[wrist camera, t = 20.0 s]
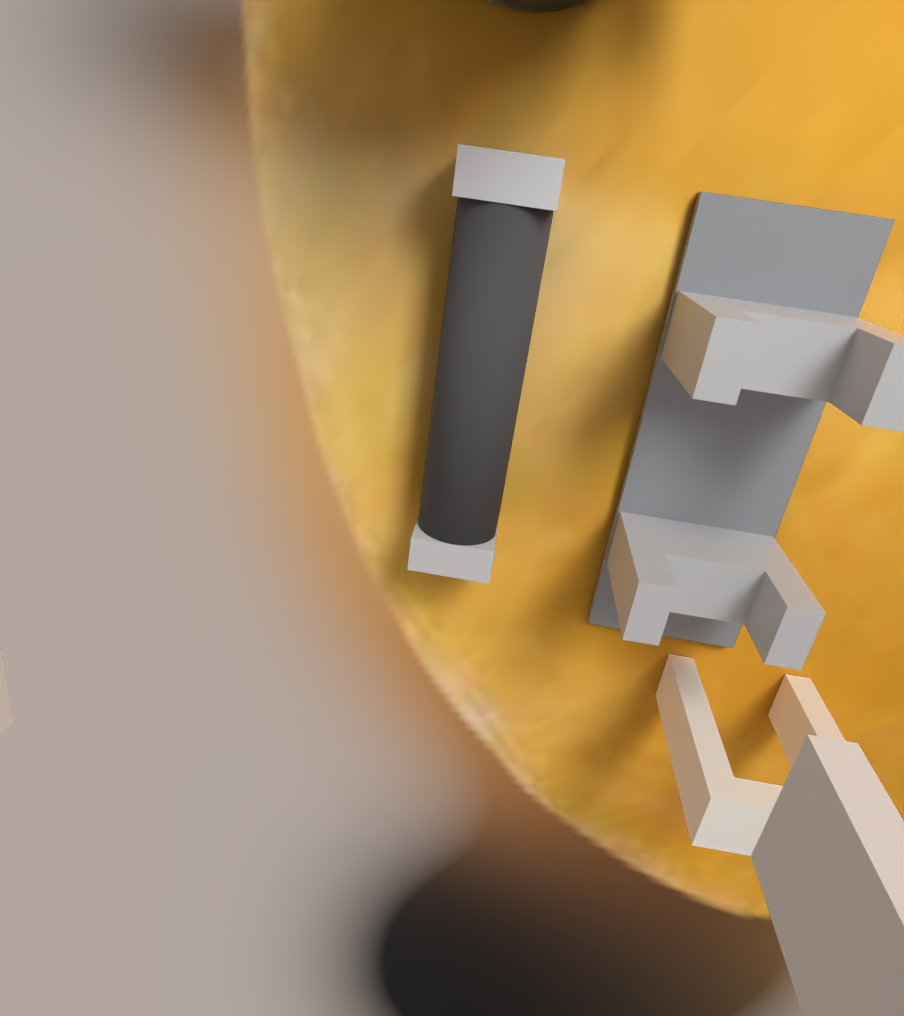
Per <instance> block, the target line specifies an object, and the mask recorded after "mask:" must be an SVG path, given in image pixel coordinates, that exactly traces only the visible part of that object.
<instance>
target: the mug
mask: <svg viewBox="0 0 904 1016" xmlns="http://www.w3.org/2000/svg"><path fill="white" fill-rule="evenodd" d="M487 1H489V2H491V3H493V4H495V5H498V6H501V7H505V8H508V9H512V10H515V11H524V12H535V13H538V12H549V11H559V10H562V9H566V8H570V7H573V6H577V5H580V4H582V3H584V2H586V1H588V0H487Z"/></svg>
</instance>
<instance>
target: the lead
mask: <svg viewBox="0 0 904 1016" xmlns="http://www.w3.org/2000/svg"><path fill="white" fill-rule="evenodd" d="M565 162H566V159H560V158H553V157H546V156H539V155H533V154H526V153H519V152H512V151H505V150H498V149H491V148H484V147H477V146H470V145H463V144H458V149H457V158H456V166H455V175H454V183H453V191H452V196H457V197H458V201H457V209H456V217H455V225H454V234H453V242H452V250H451V258H450V266H449V274H448V282H447V290H446V298H445V307H444V315H443V323H442V331H441V339H440V347H439V355H438V363H437V372H436V380H435V388H434V396H433V404H432V412H431V420H430V428H429V436H428V445H427V453H426V461H425V469H424V477H423V485H422V493H421V501H420V509H419V517H418V519H417V522H416V525H415V528H414V531H413V534H412V537H411V542H410V551H409V559H408V567H407V570H411V571H417V572H423V573H429V574H435V575H441V576H447V577H453V578H459V579H464V580H470V581H476V582H482V583H488V584H489V581H490V576H491V570H492V565H493V559H494V554H495V545H496V536H497V526H498V518H499V512H500V507H501V501H502V496H503V490H504V484H505V479H506V473H507V468H508V462H509V457H510V451H511V445H512V440H513V434H514V429H515V423H516V418H517V412H518V406H519V401H520V395H521V390H522V384H523V379H524V373H525V367H526V362H527V356H528V351H529V345H530V339H531V334H532V328H533V323H534V317H535V312H536V306H537V300H538V295H539V289H540V284H541V278H542V273H543V267H544V261H545V256H546V250H547V245H548V239H549V234H550V228H551V222H552V217H553V211H557V206H558V200H559V195H560V189H561V184H562V178H563V173H564V167H565Z"/></svg>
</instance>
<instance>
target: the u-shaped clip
mask: <svg viewBox="0 0 904 1016" xmlns="http://www.w3.org/2000/svg"><path fill="white" fill-rule="evenodd" d="M655 695H656V699H657V704H658V708H659V712H660V716H661V720H662V724H663V728H664V733H665V737H666V741H667V745H668V749H669V753H670V757H671V762H672V766H673V770H674V774H675V778H676V782H677V786H678V791H679V795H680V799H681V803H682V807H683V811H684V815H685V819H686V824H687V828H688V832H689V836H690V840H691V844H692V845H693V846H699V847H704V848H710V849H715V850H721V851H726V852H732V853H737V854H742V855H748V856H751V854H752V852H753V850H754V848H755V846H756V844H757V841H758V839H759V837H760V835H761V833H762V831H763V829H764V826H765V824H766V822H767V820H768V818H769V816H770V814H771V811H772V809H773V807H774V805H775V803H776V801H777V799H778V796H779V794H780V792H781V790H782V788H783V786H780V785H774V784H769V783H763V782H758V781H752V780H746V779H741V778H735V777H734V775H733V773H732V770H731V767H730V764H729V761H728V758H727V755H726V752H725V749H724V746H723V743H722V740H721V737H720V734H719V732H718V729H717V726H716V723H715V720H714V717H713V714H712V711H711V708H710V705H709V702H708V699H707V696H706V694H705V691H704V688H703V685H702V682H701V679H700V676H699V673H698V670H697V667H696V664H695V661H694V658H689V657H684V656H678V655H672V654H669V655H668V658H667V661H666V664H665V667H664V670H663V673H662V676H661V679H660V682H659V685H658V688H657V691H656V694H655ZM768 716H769V718H770V720H771V722H772V725H773V727H774V729H775V731H776V734H777V736H778V738H779V740H780V743H781V745H782V747H783V749H784V752H785V754H786V756H787V758H788V760H789V763H790V765H791V767H792V766H793V764H794V762H795V760H796V758H797V756H798V754H799V751H800V749H801V747H802V745H803V743H804V741H805V739H806V736H807V734H808V735H814V736H820V737H825V738H831V739H837V740H843V741H845V739H844V737H843V735H842V734H841V732H840V730H839V728H838V727H837V725H836V723H835V721H834V719H833V718H832V716H831V714H830V712H829V711H828V709H827V707H826V705H825V704H824V702H823V700H822V698H821V697H820V695H819V693H818V691H817V689H816V688H815V686H814V684H813V682H812V681H811V679H810V678H806V677H800V676H794V675H788V674H785V676H784V678H783V680H782V683H781V685H780V687H779V690H778V692H777V694H776V697H775V699H774V701H773V704H772V706H771V708H770V711H769V713H768Z"/></svg>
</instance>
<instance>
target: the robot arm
mask: <svg viewBox="0 0 904 1016" xmlns="http://www.w3.org/2000/svg"><path fill="white" fill-rule="evenodd" d="M13 722H14V719H13V713H12V708H11V703H10V697H9V692H8V687H7V681H6V676H5V671H4V665H3V661H2V655H1V649H0V735H1V734H2V733H3V732H4V731H5V730H6V729H7V728H8V727H9V726H10V725H11V724H12V723H13ZM751 858H752V861H753V864H754V867H755V870H756V873H757V876H758V879H759V882H760V885H761V888H762V892H763V895H764V898H765V901H766V904H767V907H768V910H769V913H770V916H771V919H772V922H773V925H774V928H775V931H776V934H777V937H778V940H779V944H780V947H781V950H782V953H783V955H784V959H785V962H786V965H787V968H788V971H789V974H790V977H791V980H792V983H793V986H794V989H795V992H796V995H797V999H798V1002H799V1005H800V1007H801V1011H802V1014H803V1016H904V821H903V819H902V818H901V816H900V814H899V813H898V811H897V809H896V807H895V806H894V804H893V802H892V801H891V799H890V797H889V795H888V794H887V792H886V790H885V789H884V787H883V785H882V784H881V782H880V780H879V778H878V777H877V775H876V773H875V772H874V770H873V768H872V767H871V765H870V763H869V761H868V760H867V758H866V756H865V755H864V753H863V751H862V750H861V748H860V746H859V744H858V743H854V742H848V741H843V740H837V739H831V738H825V737H820V736H814V735H808V734H807V736H806V739H805V741H804V743H803V745H802V747H801V749H800V751H799V754H798V756H797V758H796V760H795V762H794V764H793V766H792V769H791V771H790V773H789V775H788V777H787V779H786V781H785V784H784V786H783V788H782V790H781V792H780V794H779V796H778V799H777V801H776V803H775V805H774V807H773V809H772V811H771V814H770V816H769V818H768V820H767V822H766V824H765V826H764V829H763V831H762V833H761V835H760V837H759V839H758V841H757V844H756V846H755V848H754V850H753V852H752V854H751Z"/></svg>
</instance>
